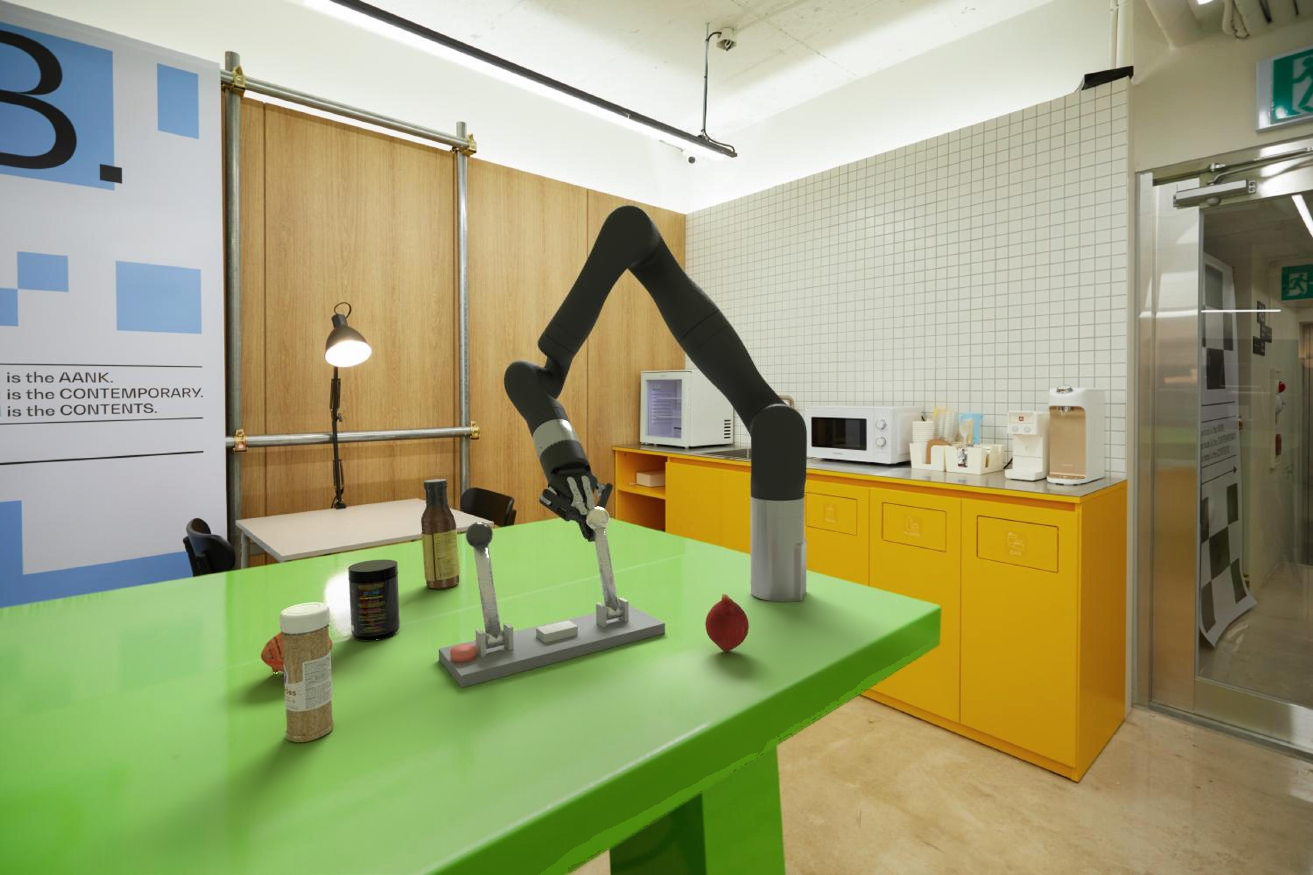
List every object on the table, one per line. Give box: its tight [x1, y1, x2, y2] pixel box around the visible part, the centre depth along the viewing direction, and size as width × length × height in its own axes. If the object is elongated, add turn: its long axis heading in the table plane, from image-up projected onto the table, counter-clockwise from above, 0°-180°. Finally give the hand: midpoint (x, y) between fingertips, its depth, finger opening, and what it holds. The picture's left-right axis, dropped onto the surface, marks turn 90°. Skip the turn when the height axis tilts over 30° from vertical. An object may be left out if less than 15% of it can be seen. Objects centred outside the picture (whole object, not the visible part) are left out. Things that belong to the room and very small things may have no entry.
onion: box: [704, 593, 750, 653], centre depth 86 cm, size 6×6×8 cm
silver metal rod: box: [465, 521, 506, 649], centre depth 85 cm, size 4×4×17 cm
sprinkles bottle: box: [279, 601, 335, 743], centre depth 66 cm, size 5×5×14 cm
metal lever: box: [586, 507, 623, 620], centre depth 95 cm, size 4×4×17 cm
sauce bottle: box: [420, 478, 461, 590], centre depth 118 cm, size 7×6×20 cm
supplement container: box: [347, 559, 401, 641], centre depth 94 cm, size 7×7×10 cm
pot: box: [260, 630, 333, 673], centre depth 81 cm, size 8×8×7 cm
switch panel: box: [438, 597, 666, 688], centre depth 89 cm, size 10×30×4 cm, turn 124°
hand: (595, 538), depth 97 cm, fingers closed
